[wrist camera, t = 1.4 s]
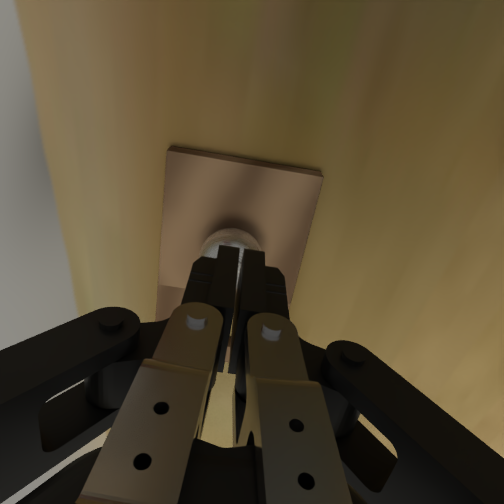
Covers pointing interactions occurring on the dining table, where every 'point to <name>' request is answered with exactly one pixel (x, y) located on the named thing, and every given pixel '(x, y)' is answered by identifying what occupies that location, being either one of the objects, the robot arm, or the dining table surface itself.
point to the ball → (229, 243)
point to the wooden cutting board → (231, 215)
